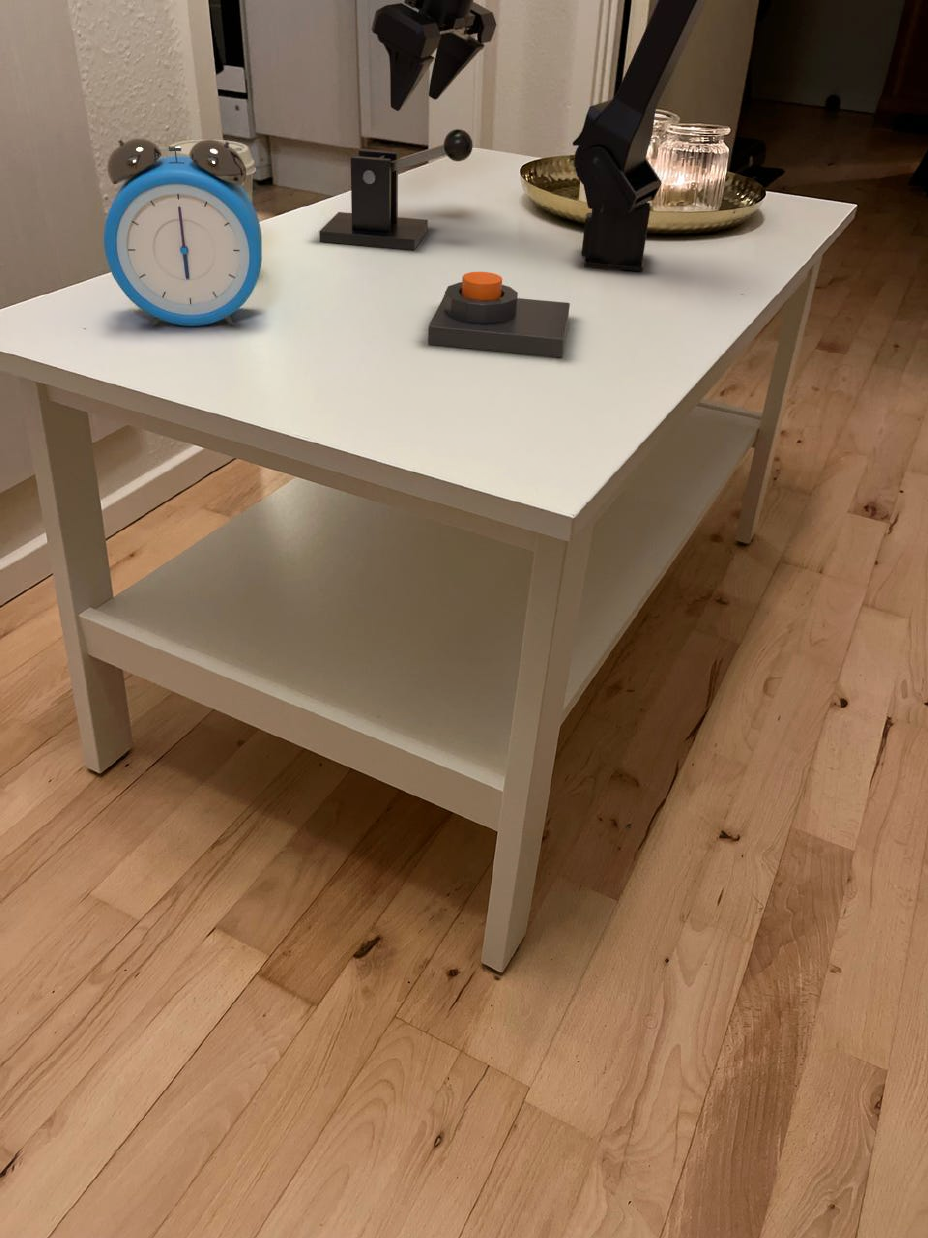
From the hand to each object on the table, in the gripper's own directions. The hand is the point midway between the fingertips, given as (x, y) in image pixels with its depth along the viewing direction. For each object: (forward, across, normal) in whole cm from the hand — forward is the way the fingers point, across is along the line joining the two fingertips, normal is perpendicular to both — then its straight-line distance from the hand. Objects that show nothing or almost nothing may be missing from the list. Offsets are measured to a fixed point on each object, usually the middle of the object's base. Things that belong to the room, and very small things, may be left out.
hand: (414, 103), depth 113 cm
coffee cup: (+14, +30, -2) cm, 33 cm away
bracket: (+13, +8, +4) cm, 15 cm away
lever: (+4, +6, +6) cm, 9 cm away
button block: (+4, +29, +28) cm, 40 cm away
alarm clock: (+12, +41, +3) cm, 43 cm away
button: (+2, +30, +25) cm, 39 cm away
